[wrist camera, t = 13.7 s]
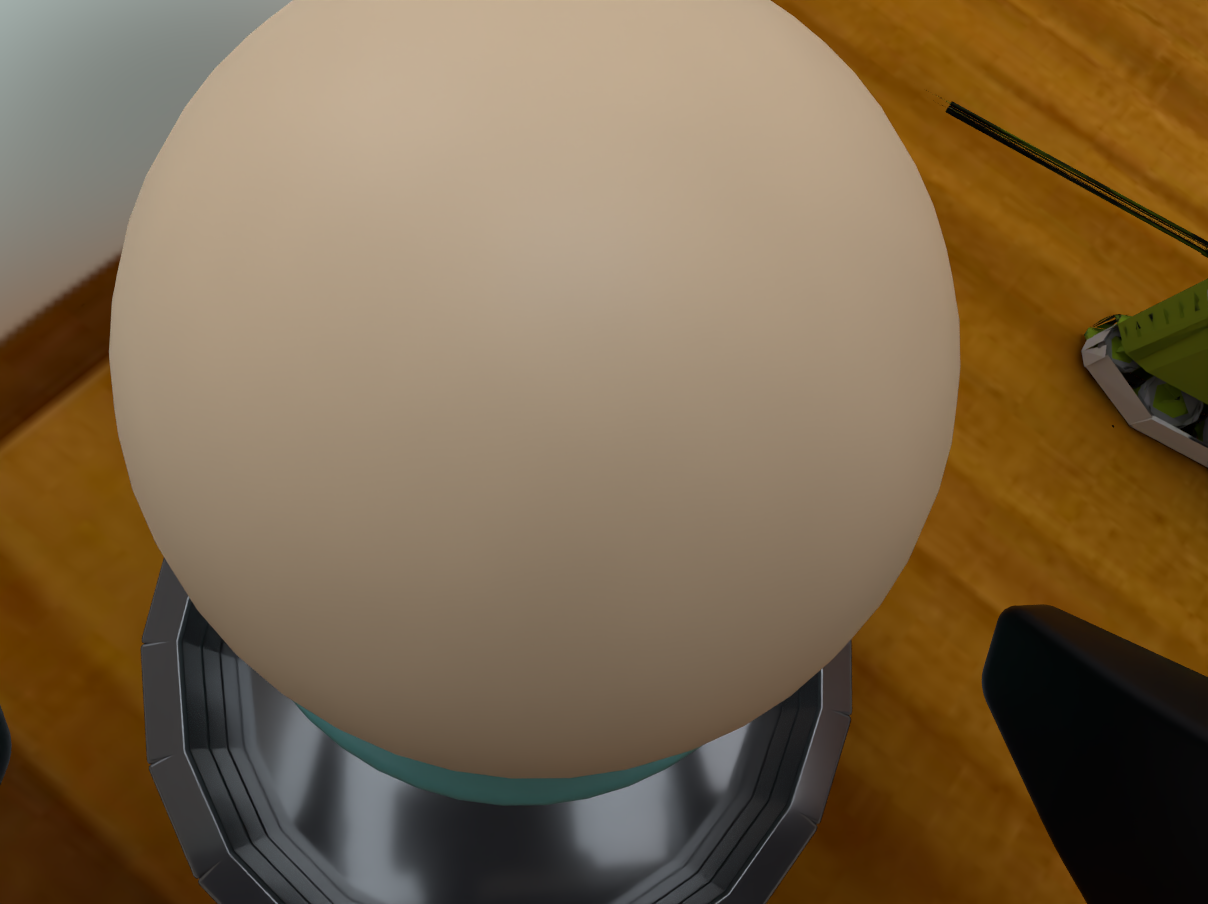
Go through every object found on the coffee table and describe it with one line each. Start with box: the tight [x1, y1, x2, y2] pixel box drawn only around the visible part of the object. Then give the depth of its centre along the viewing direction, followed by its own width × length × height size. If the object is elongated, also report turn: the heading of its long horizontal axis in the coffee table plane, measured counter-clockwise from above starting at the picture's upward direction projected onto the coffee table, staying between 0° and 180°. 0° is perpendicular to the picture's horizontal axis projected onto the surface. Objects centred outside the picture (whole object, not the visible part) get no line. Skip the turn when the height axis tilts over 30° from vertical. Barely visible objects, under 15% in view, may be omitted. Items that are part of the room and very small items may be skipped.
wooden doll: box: [109, 0, 960, 806], centre depth 9 cm, size 4×4×14 cm
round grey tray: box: [141, 558, 852, 904], centre depth 15 cm, size 11×11×2 cm
